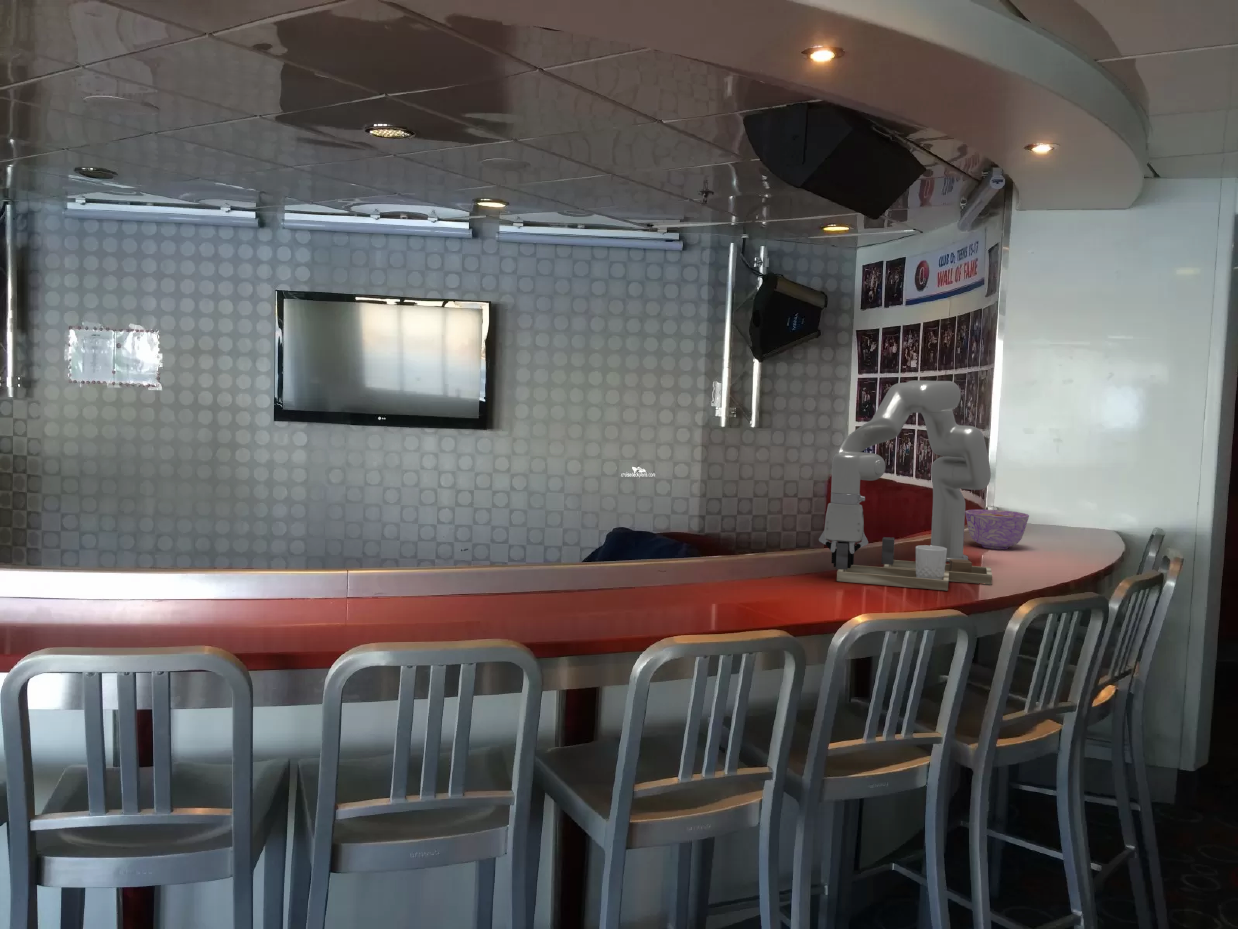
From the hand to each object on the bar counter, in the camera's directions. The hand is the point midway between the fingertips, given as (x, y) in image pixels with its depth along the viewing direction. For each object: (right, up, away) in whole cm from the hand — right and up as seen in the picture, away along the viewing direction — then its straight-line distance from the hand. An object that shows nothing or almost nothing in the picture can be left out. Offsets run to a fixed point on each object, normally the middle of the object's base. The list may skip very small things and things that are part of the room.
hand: (842, 566), depth 264 cm
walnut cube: (+33, -4, +3) cm, 34 cm away
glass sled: (+13, -4, -4) cm, 14 cm away
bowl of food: (+65, 0, +62) cm, 90 cm away
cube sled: (+27, -4, +5) cm, 28 cm away
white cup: (+21, -5, -7) cm, 23 cm away
